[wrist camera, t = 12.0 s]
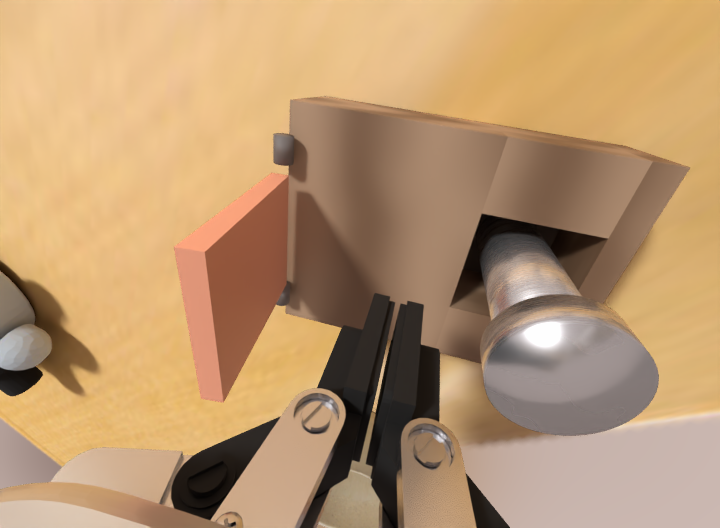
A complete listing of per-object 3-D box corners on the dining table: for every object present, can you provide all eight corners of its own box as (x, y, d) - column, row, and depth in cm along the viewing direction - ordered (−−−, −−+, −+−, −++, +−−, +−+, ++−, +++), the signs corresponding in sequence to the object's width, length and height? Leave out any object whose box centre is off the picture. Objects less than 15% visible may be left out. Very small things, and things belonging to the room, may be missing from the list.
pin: (561, 208, 18) (697, 348, 8) (530, 277, 21) (608, 451, 11) (478, 193, 19) (513, 307, 9) (456, 261, 21) (466, 412, 11)
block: (626, 146, 16) (709, 174, 11) (532, 325, 23) (558, 397, 17) (317, 95, 19) (269, 99, 13) (307, 272, 25) (271, 322, 19)
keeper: (271, 172, 15) (288, 175, 15) (272, 281, 18) (286, 284, 18) (173, 247, 8) (204, 251, 8) (200, 398, 11) (223, 402, 11)
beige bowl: (367, 466, 35) (352, 547, 29) (295, 414, 34) (262, 488, 27) (435, 434, 30) (433, 523, 24) (354, 371, 29) (330, 449, 22)
